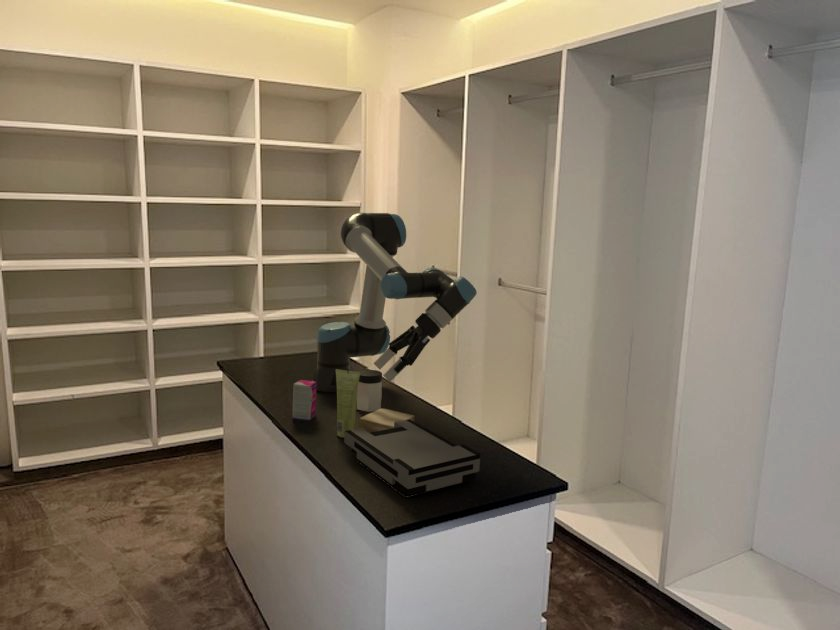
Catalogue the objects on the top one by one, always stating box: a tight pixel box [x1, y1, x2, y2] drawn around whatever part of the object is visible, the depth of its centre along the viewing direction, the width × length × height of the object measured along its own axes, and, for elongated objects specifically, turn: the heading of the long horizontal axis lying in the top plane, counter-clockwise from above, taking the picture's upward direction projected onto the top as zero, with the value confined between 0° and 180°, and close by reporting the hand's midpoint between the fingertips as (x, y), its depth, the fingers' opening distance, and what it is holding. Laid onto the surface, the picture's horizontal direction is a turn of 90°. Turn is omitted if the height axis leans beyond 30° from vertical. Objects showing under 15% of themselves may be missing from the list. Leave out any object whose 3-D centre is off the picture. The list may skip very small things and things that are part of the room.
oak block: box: [358, 407, 415, 433], centre depth 191 cm, size 12×12×4 cm
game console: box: [344, 419, 481, 497], centre depth 163 cm, size 21×32×8 cm, turn 33°
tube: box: [336, 369, 360, 438], centre depth 184 cm, size 6×5×20 cm
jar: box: [356, 369, 383, 413], centre depth 210 cm, size 9×8×12 cm
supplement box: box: [291, 379, 317, 422], centre depth 198 cm, size 6×6×12 cm
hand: (381, 372), depth 184 cm, fingers open, 13 cm apart
